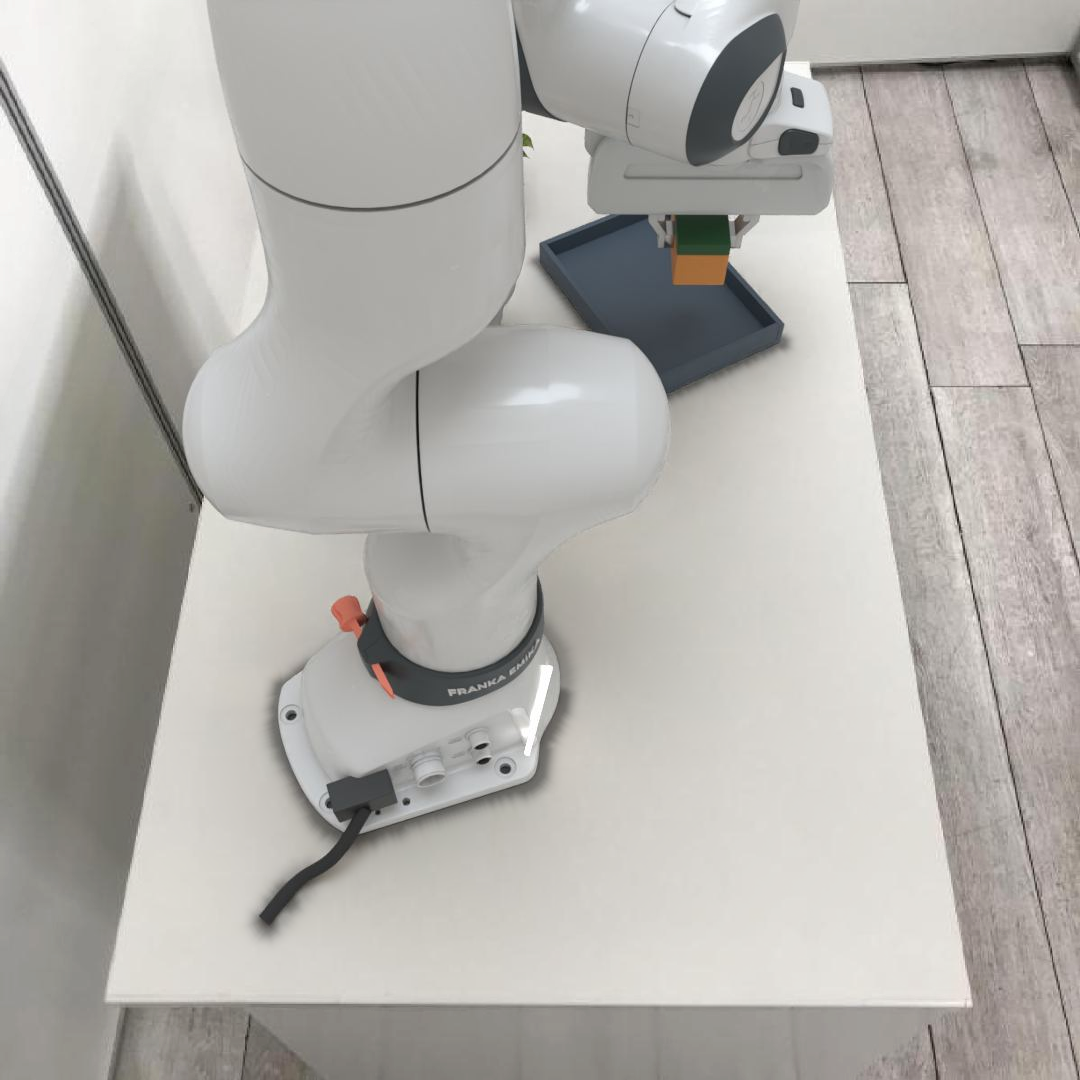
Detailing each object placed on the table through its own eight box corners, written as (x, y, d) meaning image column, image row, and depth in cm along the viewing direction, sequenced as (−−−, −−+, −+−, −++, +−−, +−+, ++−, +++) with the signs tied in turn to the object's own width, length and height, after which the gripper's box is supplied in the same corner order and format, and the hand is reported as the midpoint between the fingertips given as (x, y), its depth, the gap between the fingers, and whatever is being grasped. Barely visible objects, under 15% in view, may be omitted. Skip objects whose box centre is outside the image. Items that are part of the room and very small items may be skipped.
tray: (647, 402, 100) (649, 384, 98) (539, 261, 110) (539, 242, 108) (780, 342, 104) (784, 323, 102) (664, 211, 114) (666, 191, 112)
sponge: (723, 285, 94) (731, 245, 90) (672, 285, 94) (678, 244, 90) (718, 229, 98) (725, 187, 94) (669, 228, 98) (674, 187, 94)
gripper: (585, 136, 81) (581, 268, 93) (854, 137, 81) (816, 270, 93) (585, 83, 85) (581, 217, 96) (844, 84, 84) (808, 218, 96)
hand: (698, 243), depth 95 cm, fingers closed on sponge, 4 cm apart
